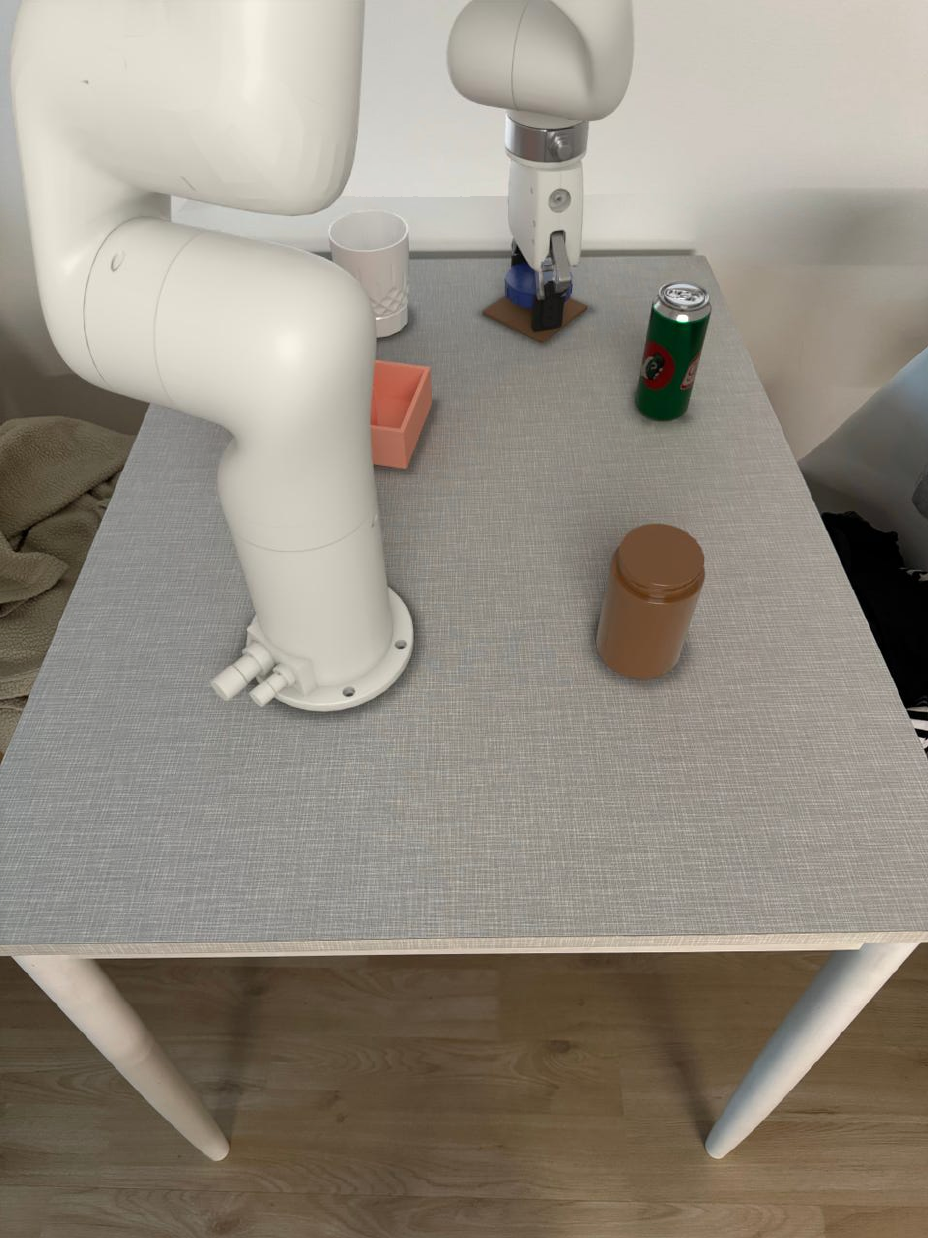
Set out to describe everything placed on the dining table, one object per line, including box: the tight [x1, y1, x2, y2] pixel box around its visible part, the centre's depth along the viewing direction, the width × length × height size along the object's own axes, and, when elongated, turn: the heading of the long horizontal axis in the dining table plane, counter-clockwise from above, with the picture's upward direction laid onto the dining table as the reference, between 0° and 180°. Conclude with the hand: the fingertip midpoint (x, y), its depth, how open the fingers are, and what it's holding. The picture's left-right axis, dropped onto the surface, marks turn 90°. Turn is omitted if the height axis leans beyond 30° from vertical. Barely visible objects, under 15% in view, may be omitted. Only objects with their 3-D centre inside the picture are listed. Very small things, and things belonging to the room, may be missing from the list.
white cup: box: [327, 209, 410, 339], centre depth 89 cm, size 8×8×10 cm
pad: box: [482, 295, 588, 344], centre depth 94 cm, size 8×8×1 cm
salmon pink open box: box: [370, 359, 433, 470], centre depth 79 cm, size 18×10×10 cm, turn 77°
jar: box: [595, 523, 706, 680], centre depth 63 cm, size 6×6×10 cm
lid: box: [504, 260, 574, 309], centre depth 91 cm, size 7×7×2 cm
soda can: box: [634, 280, 713, 422], centre depth 79 cm, size 5×5×12 cm
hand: (535, 307), depth 93 cm, fingers closed on lid, 6 cm apart
